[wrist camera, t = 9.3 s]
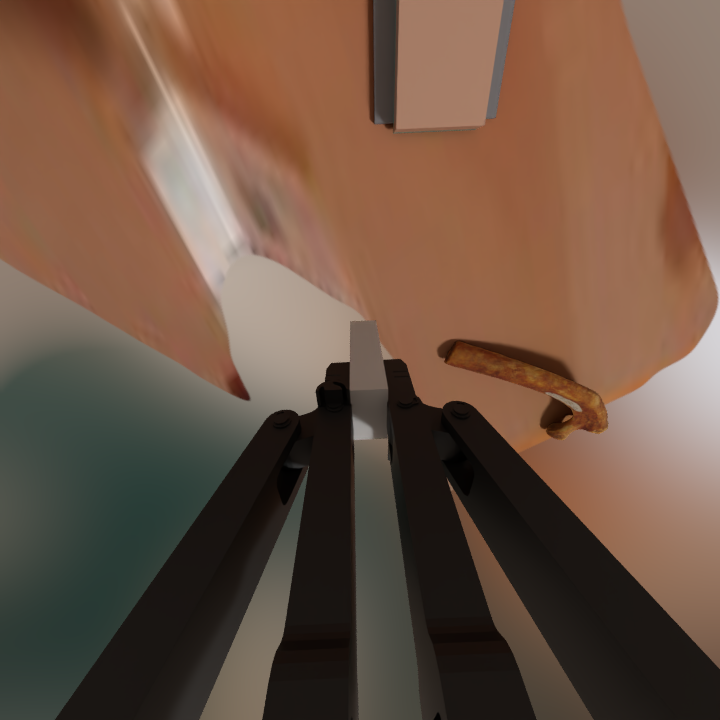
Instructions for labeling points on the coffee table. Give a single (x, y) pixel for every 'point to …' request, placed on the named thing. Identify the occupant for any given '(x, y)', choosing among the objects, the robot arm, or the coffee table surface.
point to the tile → (444, 63)
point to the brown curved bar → (537, 387)
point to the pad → (386, 57)
